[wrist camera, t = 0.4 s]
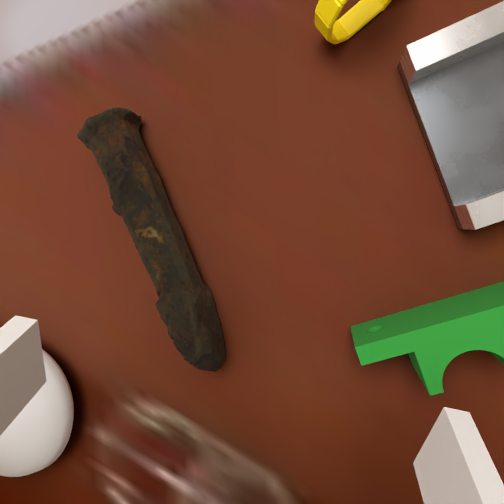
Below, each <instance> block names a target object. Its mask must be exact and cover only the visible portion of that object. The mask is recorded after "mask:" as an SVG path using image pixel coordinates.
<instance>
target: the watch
mask: <svg viewBox="0 0 504 504" xmlns="http://www.w3.org/2000/svg"><path fill="white" fill-rule="evenodd" d="M347 1H348V0H319V2H318V4H317V6H316V10H315V26H316V27H317V28H318V30H319V31H320V32H321V34H322V35H323V36H324V37H325V39H326V40H327V41H328V42H330V43H332V44H338V43H341V42H343V41H346V40H348V39H349V38H350V37H352V36H353V35H354V34H355V33H356V32H357V31H359V30H360V29H361V28H362V27H363V26H365V25H366V24H367V23H368V22H369V21H370V20H372V19H373V18H374V17H375V16H376V15H377V14H379V13H380V12H381V11H384V10H385V9H384V8H386V7H387V6H388V5H389V3H390V2H391V1H392V0H360V1H359V2H358V3H357V4H356V5H355V6H353V7H352V8H351V9H350V10H349V11H348V12H346V13H345V14H344V15H343V16H342V17H341V18H340V19H338V20H337V21H336V19H337V18H338V16H339V14H340V12H341V10H342V8H343V6H344V5H345V4H346V2H347Z"/></svg>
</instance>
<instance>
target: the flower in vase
mask: <svg viewBox="0 0 504 504" xmlns="http://www.w3.org/2000/svg"><path fill="white" fill-rule="evenodd" d="M42 353H43V360H44V366H45V373H46V380H47V381H46V383H45V384H44V385H43V386H42V387H41V388H40V390H39V391H38V392H37V393H36V394H35V396H34V397H33V398H32V399H31V400H30V401H29V403H28V404H27V405H26V406H25V407H24V409H23V410H22V411H21V412H20V413H19V414H18V416H17V417H16V418H15V419H14V420H13V422H12V423H11V424H10V425H9V426H8V427H7V429H6V430H5V431H4V432H3V433H2V435H1V436H0V475H1V476H7V477H20V476H25V475H29V474H32V473H35V472H37V471H40V470H43V469H44V468H46V467H48V466H50V465H51V464H52V463H53V462H54V461H56V460H57V458H58V457H59V456H60V455H61V454H62V452H63V451H64V449H65V447H66V445H67V443H68V441H69V438H70V434H71V431H72V425H73V419H74V403H73V397H72V392H71V389H70V386H69V383H68V381H67V379H66V377H65V375H64V373H63V371H62V370H61V368H60V366H59V365H58V364H57V363H56V361H55V360H54V359H53V358H52V357H51V356H50V355H49V354H48V353H47V352H45V351H44V350H43V349H42Z"/></svg>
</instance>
